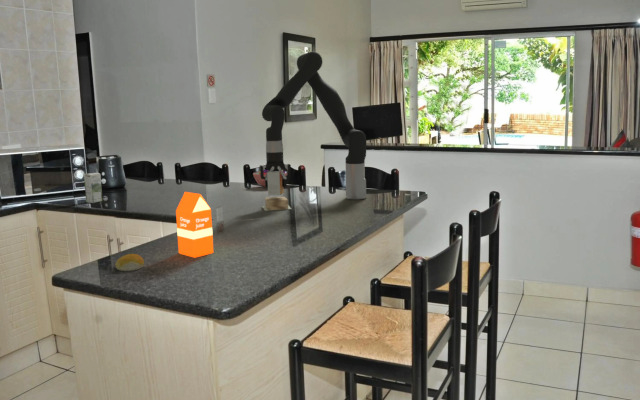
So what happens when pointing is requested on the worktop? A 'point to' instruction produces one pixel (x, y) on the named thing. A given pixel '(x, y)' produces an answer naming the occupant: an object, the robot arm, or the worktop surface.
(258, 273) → the worktop surface
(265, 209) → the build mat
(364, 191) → the robot arm
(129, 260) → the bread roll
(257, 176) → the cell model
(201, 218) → the orange juice
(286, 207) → the oak block
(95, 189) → the syrup box
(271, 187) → the small box
